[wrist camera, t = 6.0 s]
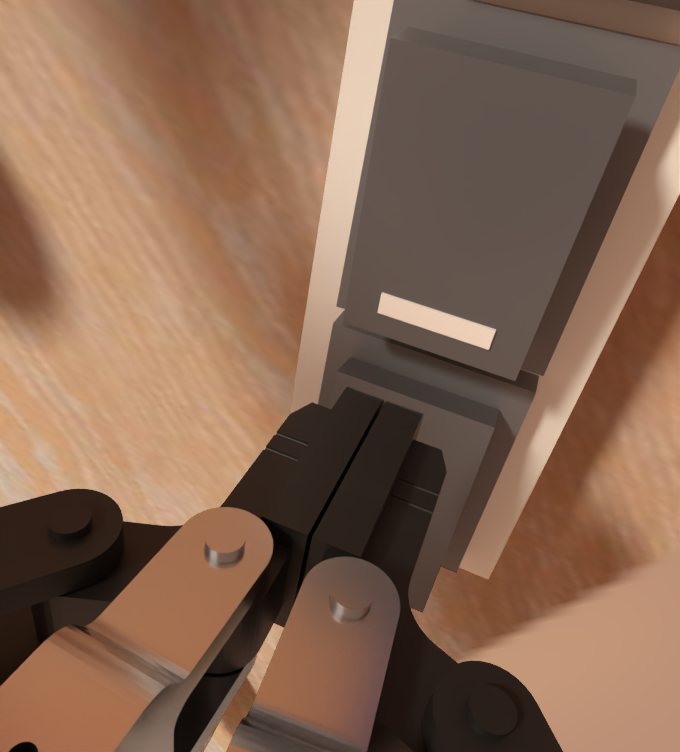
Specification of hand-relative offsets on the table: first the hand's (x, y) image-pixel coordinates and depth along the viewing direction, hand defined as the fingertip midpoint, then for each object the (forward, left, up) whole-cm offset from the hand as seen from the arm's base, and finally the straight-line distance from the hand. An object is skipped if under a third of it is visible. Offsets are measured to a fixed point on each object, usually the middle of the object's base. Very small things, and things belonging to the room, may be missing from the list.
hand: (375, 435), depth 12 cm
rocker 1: (-3, 0, -6) cm, 6 cm away
